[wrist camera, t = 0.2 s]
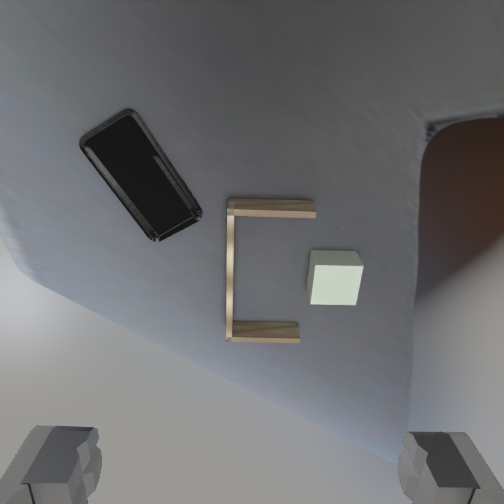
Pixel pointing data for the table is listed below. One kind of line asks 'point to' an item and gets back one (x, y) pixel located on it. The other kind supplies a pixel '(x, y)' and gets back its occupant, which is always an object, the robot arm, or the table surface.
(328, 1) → the table surface
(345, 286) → the sage block
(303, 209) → the wooden u-shaped bracket
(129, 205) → the phone
